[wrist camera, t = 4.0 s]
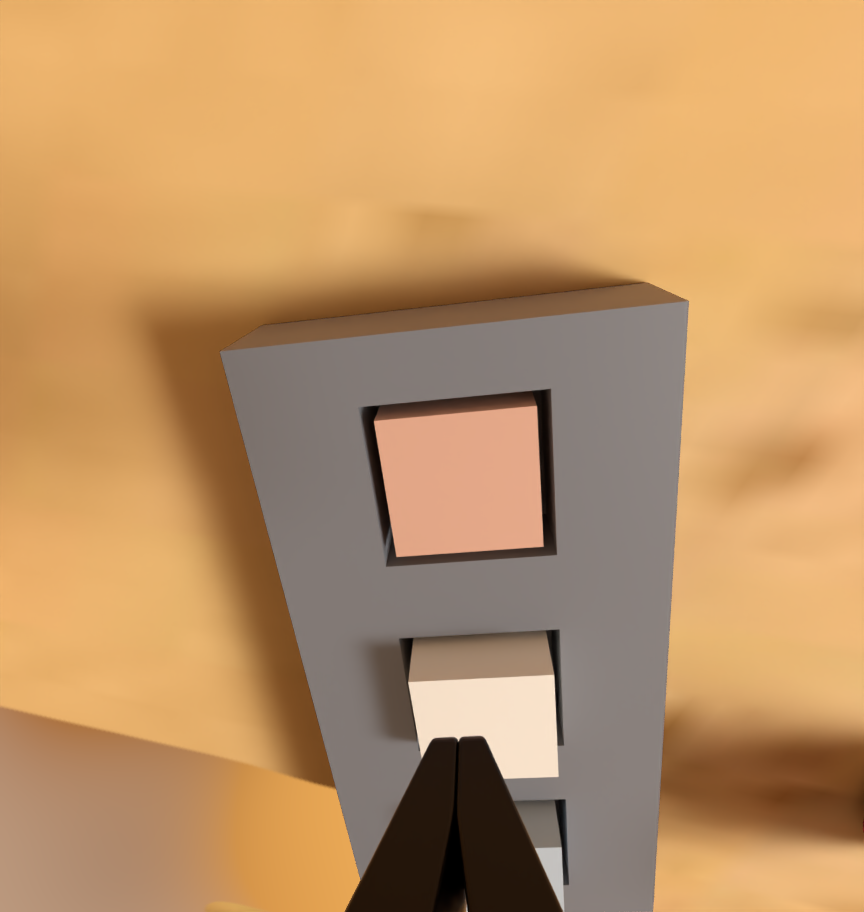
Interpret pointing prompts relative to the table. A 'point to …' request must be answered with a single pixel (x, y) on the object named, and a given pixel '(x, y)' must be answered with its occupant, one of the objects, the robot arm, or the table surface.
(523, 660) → the cream key
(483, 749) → the robot arm
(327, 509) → the keypad
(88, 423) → the table surface
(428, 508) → the terracotta key
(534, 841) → the bluegrey key
